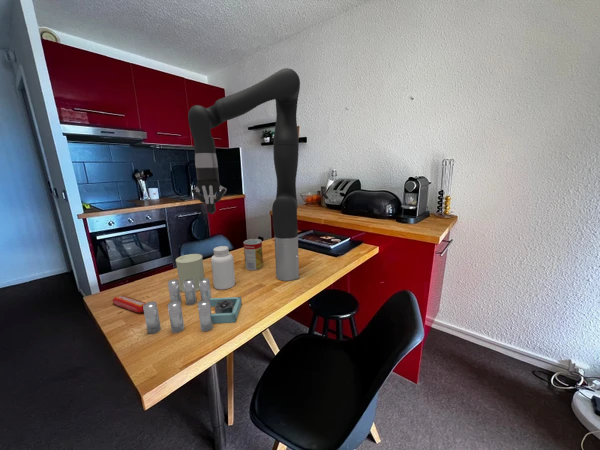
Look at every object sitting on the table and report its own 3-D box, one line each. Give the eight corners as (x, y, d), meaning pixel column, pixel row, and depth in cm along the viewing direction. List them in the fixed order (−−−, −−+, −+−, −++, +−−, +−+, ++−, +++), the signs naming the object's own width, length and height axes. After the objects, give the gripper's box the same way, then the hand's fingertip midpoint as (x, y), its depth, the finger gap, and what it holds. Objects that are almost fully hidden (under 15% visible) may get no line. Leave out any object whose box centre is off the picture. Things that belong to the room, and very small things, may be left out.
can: (184, 281, 99) (181, 253, 96) (208, 280, 100) (205, 252, 97) (175, 293, 90) (170, 262, 87) (201, 291, 91) (198, 260, 88)
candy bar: (152, 310, 80) (151, 301, 79) (141, 316, 77) (139, 307, 76) (122, 300, 87) (120, 292, 86) (110, 305, 83) (109, 297, 83)
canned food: (264, 263, 116) (263, 239, 113) (260, 270, 108) (259, 244, 105) (248, 263, 116) (246, 238, 114) (243, 270, 109) (241, 244, 106)
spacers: (226, 298, 85) (224, 277, 83) (210, 331, 68) (207, 305, 67) (173, 301, 85) (170, 279, 83) (145, 334, 68) (140, 307, 66)
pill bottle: (215, 292, 90) (211, 253, 87) (212, 283, 97) (208, 246, 93) (237, 287, 94) (234, 249, 90) (232, 278, 100) (229, 243, 97)
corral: (241, 303, 82) (241, 297, 81) (235, 322, 72) (234, 314, 72) (210, 305, 82) (210, 298, 81) (200, 323, 72) (199, 316, 71)
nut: (234, 307, 80) (233, 298, 80) (232, 317, 75) (231, 308, 74) (218, 308, 80) (217, 300, 79) (214, 319, 74) (213, 310, 73)
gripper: (227, 166, 94) (231, 211, 98) (192, 166, 94) (197, 212, 98) (222, 166, 87) (226, 214, 91) (184, 167, 87) (190, 215, 91)
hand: (211, 213), depth 95 cm, fingers closed
